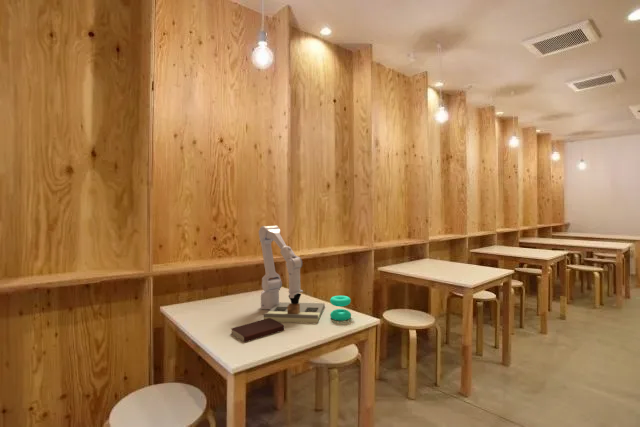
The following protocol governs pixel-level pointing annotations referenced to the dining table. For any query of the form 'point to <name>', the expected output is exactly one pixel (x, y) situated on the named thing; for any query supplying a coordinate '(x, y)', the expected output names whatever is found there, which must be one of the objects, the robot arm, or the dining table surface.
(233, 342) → the dining table surface
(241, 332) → the book
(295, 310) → the block
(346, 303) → the donuts
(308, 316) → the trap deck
